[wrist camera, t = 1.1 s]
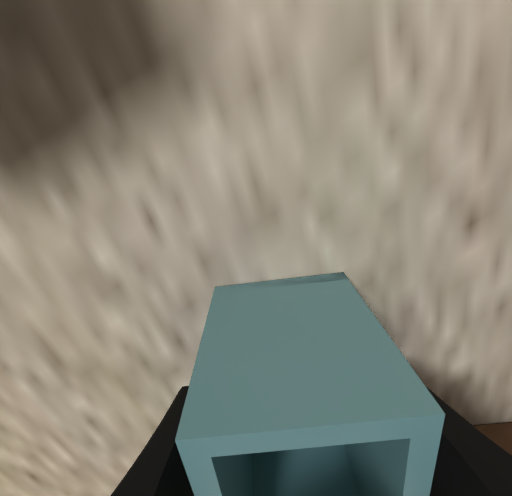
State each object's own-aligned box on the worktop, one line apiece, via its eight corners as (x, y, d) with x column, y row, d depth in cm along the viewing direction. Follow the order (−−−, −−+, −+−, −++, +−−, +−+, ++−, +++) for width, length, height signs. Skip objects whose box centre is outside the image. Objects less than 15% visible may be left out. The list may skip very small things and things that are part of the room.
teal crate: (343, 272, 11) (445, 413, 5) (343, 411, 13) (409, 601, 8) (215, 287, 11) (174, 440, 5) (242, 422, 14) (236, 614, 8)
